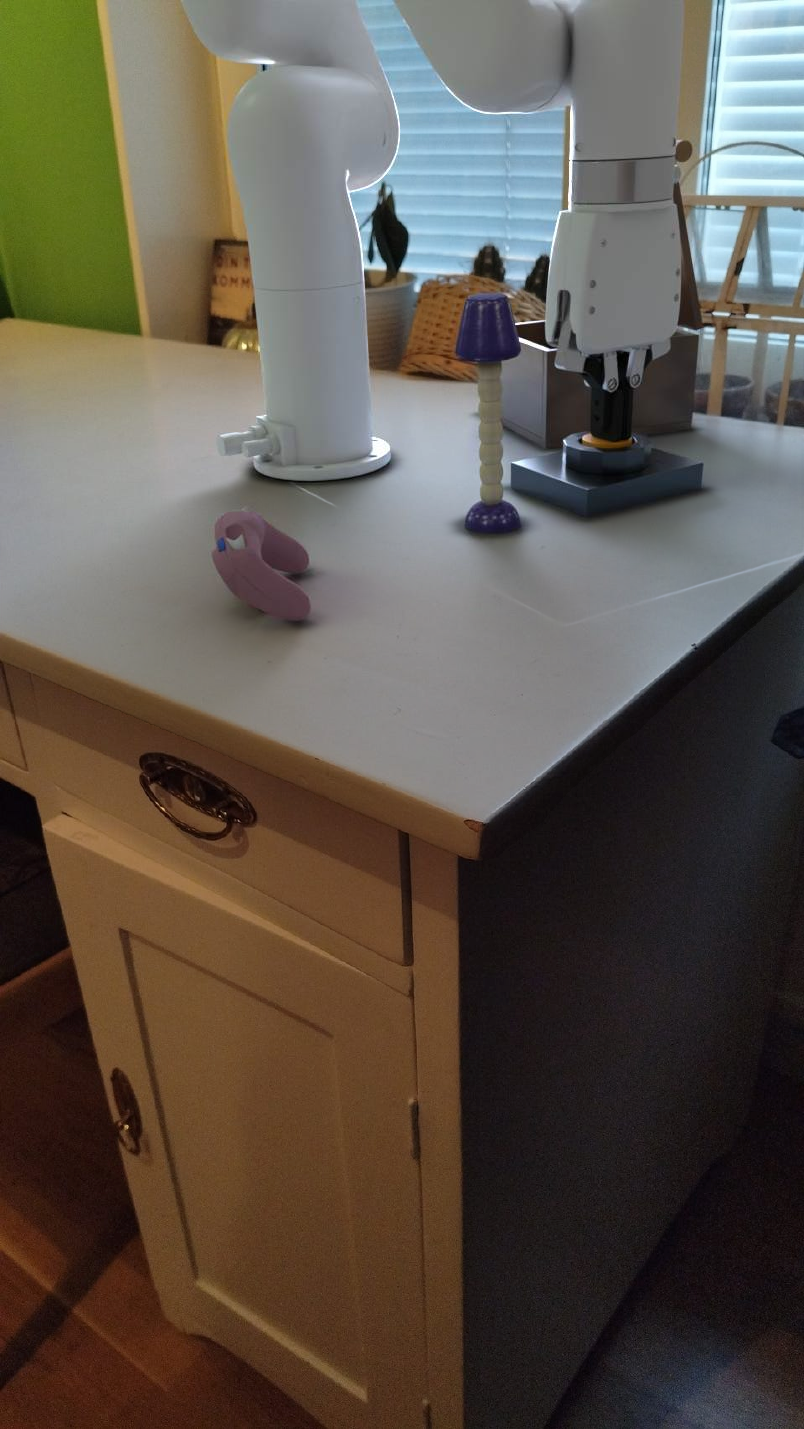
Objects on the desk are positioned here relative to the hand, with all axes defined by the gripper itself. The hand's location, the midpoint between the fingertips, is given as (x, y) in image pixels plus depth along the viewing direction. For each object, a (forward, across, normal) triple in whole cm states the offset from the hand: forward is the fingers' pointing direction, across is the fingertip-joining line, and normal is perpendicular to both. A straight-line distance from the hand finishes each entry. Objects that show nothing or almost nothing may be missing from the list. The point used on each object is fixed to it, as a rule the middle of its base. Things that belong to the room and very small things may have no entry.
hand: (610, 437), depth 89 cm
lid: (-13, -18, -18) cm, 28 cm away
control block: (+4, 0, 0) cm, 4 cm away
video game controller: (+4, +33, +5) cm, 34 cm away
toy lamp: (+4, +13, +2) cm, 14 cm away
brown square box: (+4, -13, -19) cm, 23 cm away
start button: (+2, 0, 0) cm, 2 cm away
